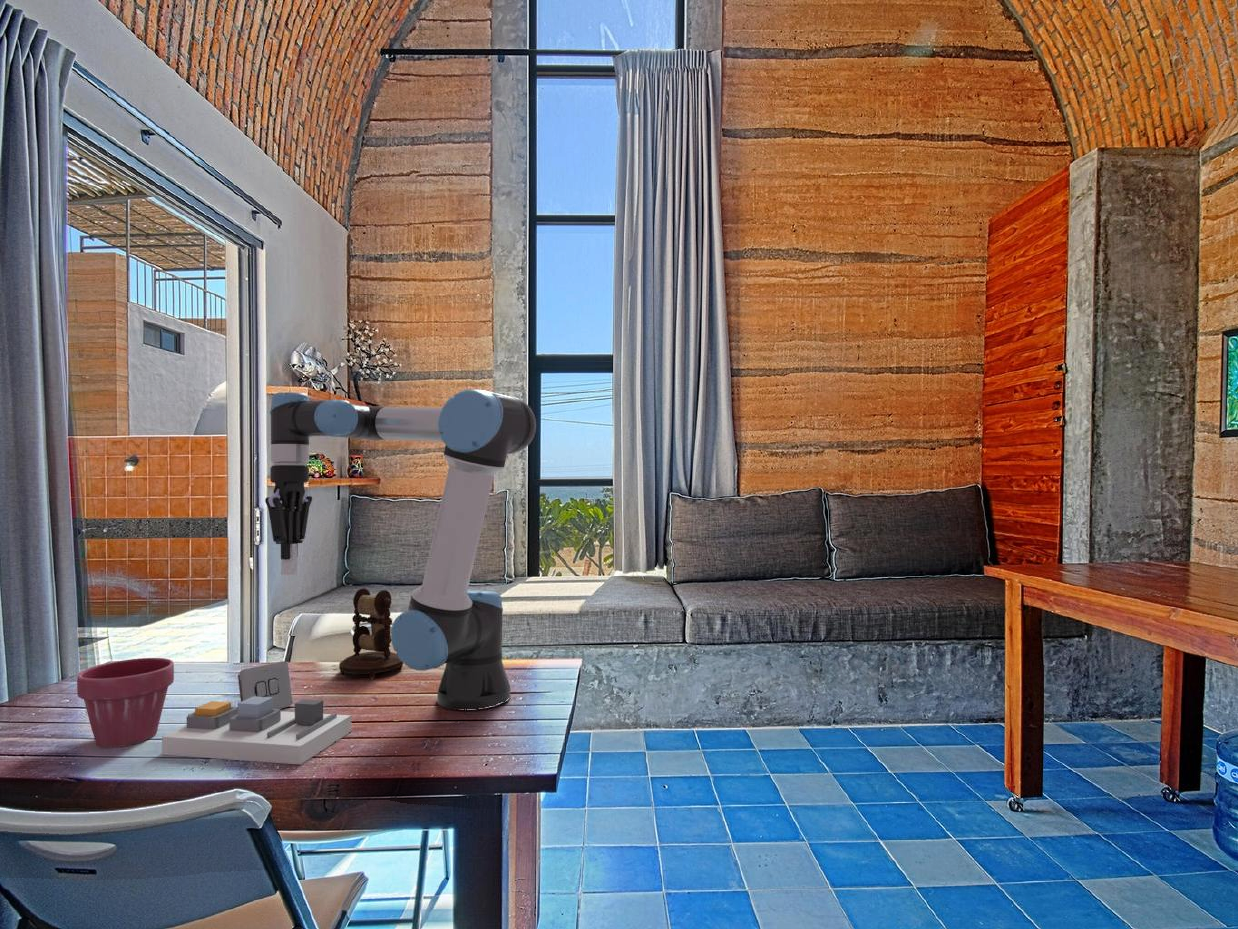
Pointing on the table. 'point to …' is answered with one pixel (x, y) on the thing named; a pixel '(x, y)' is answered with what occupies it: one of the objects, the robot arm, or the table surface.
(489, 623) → the robot arm
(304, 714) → the slide switch
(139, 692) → the plant pot
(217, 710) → the orange button
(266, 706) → the grey button
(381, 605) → the brown spool stand
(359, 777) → the table surface
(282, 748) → the switch panel
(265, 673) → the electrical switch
